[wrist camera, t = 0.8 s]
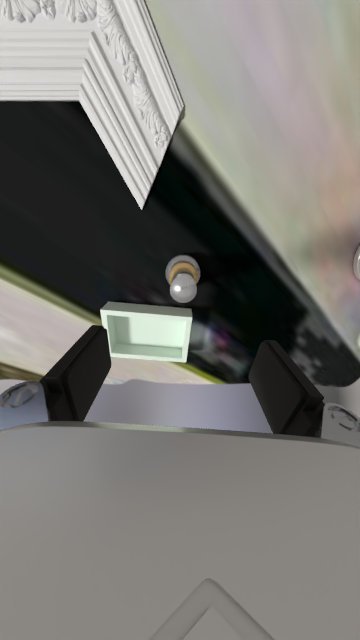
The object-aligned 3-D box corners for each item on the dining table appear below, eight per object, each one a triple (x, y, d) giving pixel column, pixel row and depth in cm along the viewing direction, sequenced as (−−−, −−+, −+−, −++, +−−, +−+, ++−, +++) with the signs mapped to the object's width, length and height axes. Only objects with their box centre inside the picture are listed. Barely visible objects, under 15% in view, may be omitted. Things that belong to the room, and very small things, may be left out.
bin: (191, 308, 35) (192, 317, 32) (185, 350, 41) (186, 362, 37) (108, 301, 35) (100, 309, 31) (113, 345, 40) (106, 356, 36)
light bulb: (197, 261, 29) (204, 273, 21) (194, 288, 31) (198, 308, 23) (170, 258, 28) (166, 270, 21) (168, 285, 31) (164, 305, 23)
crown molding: (-33, 96, 21) (-34, -240, 13) (-23, 103, 22) (-18, -205, 14) (140, 209, 27) (216, 21, 19) (142, 210, 28) (214, 32, 20)
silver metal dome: (201, 255, 31) (202, 257, 28) (196, 287, 33) (197, 292, 31) (167, 252, 30) (166, 254, 28) (166, 285, 33) (164, 289, 31)
